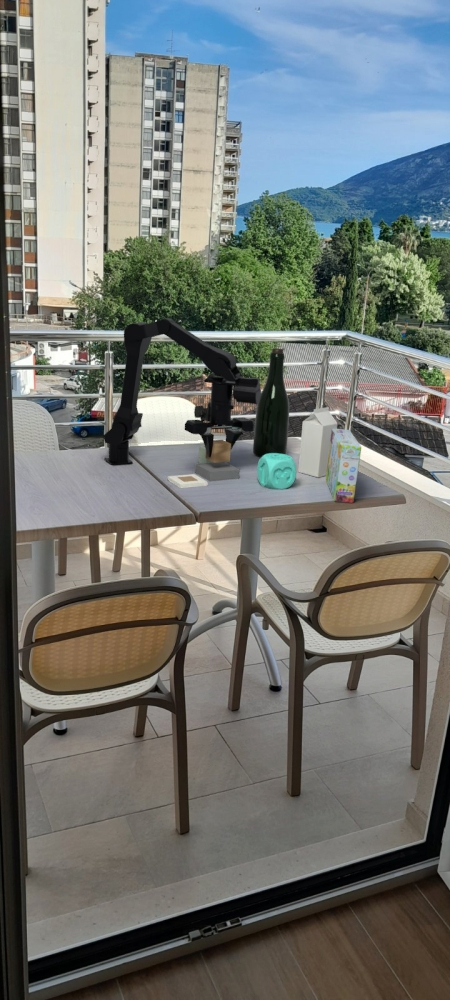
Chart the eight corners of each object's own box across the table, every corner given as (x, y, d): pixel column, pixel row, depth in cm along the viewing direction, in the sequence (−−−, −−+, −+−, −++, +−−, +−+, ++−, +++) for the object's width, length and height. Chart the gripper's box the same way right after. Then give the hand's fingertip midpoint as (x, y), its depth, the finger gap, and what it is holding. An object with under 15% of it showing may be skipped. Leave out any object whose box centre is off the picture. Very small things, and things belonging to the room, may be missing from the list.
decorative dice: (255, 482, 204) (257, 453, 202) (282, 480, 207) (284, 452, 205) (268, 490, 197) (270, 461, 195) (295, 488, 200) (297, 459, 198)
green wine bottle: (264, 449, 241) (272, 345, 231) (292, 455, 235) (301, 349, 225) (246, 455, 233) (253, 347, 223) (274, 461, 227) (283, 351, 217)
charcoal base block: (195, 474, 210) (195, 463, 209) (223, 471, 214) (223, 461, 213) (210, 482, 202) (210, 472, 201) (238, 480, 207) (239, 469, 206)
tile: (167, 479, 201) (167, 475, 201) (194, 477, 205) (194, 473, 204) (180, 488, 194) (180, 484, 194) (207, 485, 198) (207, 481, 198)
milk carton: (332, 474, 217) (339, 409, 211) (317, 478, 212) (324, 411, 206) (312, 468, 221) (318, 405, 216) (297, 472, 216) (303, 407, 211)
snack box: (355, 504, 191) (362, 446, 186) (333, 502, 191) (340, 444, 186) (344, 481, 211) (350, 428, 206) (324, 479, 211) (329, 427, 206)
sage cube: (198, 462, 221) (199, 446, 219) (213, 461, 223) (214, 445, 222) (206, 467, 217) (206, 450, 215) (221, 465, 219) (222, 449, 217)
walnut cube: (213, 462, 203) (214, 444, 202) (205, 458, 208) (206, 440, 206) (229, 461, 206) (231, 443, 204) (221, 457, 210) (222, 439, 208)
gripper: (236, 394, 213) (233, 447, 217) (177, 395, 204) (174, 451, 209) (256, 401, 204) (252, 457, 208) (195, 403, 195) (192, 461, 199)
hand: (217, 456), depth 206 cm, fingers closed on walnut cube, 5 cm apart
